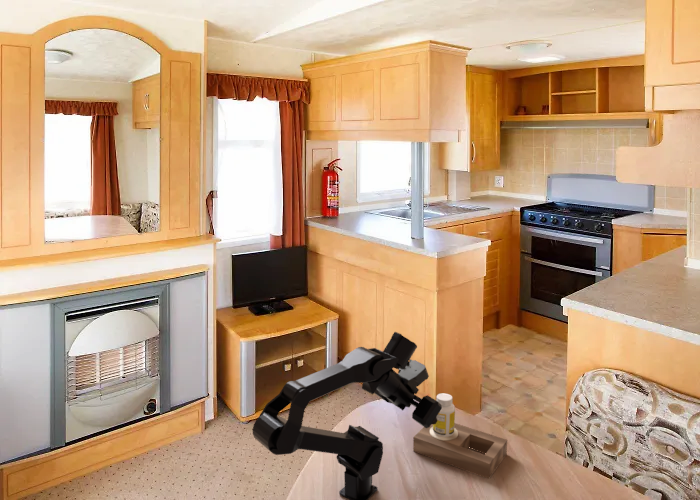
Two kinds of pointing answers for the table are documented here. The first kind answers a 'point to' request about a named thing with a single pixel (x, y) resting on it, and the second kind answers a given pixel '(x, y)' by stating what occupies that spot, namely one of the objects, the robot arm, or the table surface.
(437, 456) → the pocket block
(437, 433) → the supplement bottle
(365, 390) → the robot arm
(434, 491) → the table surface
